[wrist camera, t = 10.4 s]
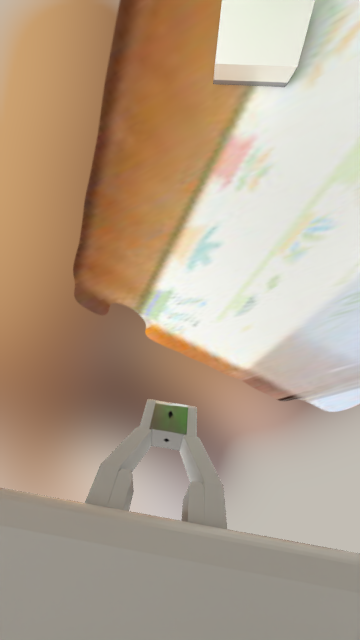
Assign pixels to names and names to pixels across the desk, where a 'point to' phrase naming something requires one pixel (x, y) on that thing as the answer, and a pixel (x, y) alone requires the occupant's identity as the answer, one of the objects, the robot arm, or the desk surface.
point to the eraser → (260, 41)
